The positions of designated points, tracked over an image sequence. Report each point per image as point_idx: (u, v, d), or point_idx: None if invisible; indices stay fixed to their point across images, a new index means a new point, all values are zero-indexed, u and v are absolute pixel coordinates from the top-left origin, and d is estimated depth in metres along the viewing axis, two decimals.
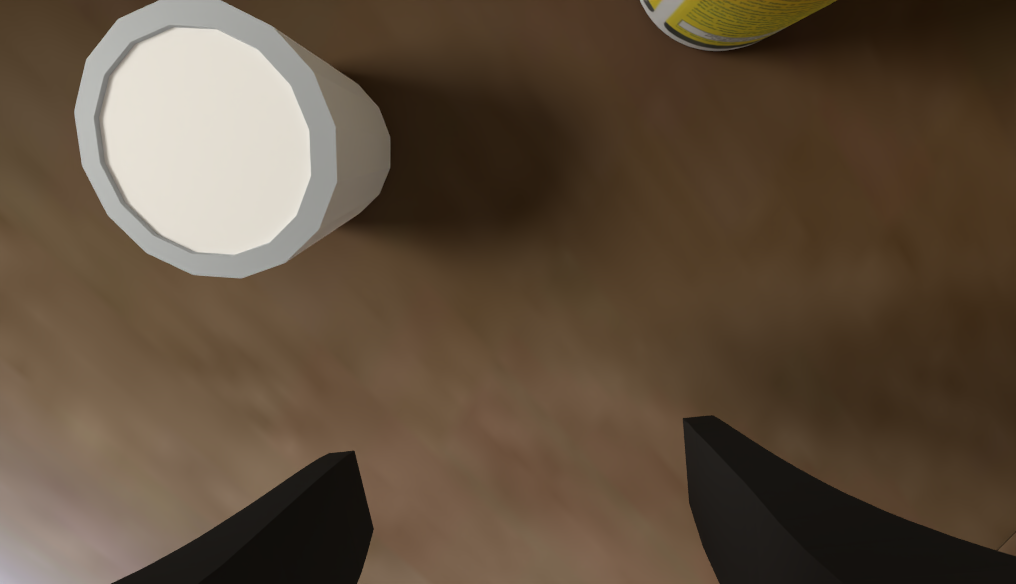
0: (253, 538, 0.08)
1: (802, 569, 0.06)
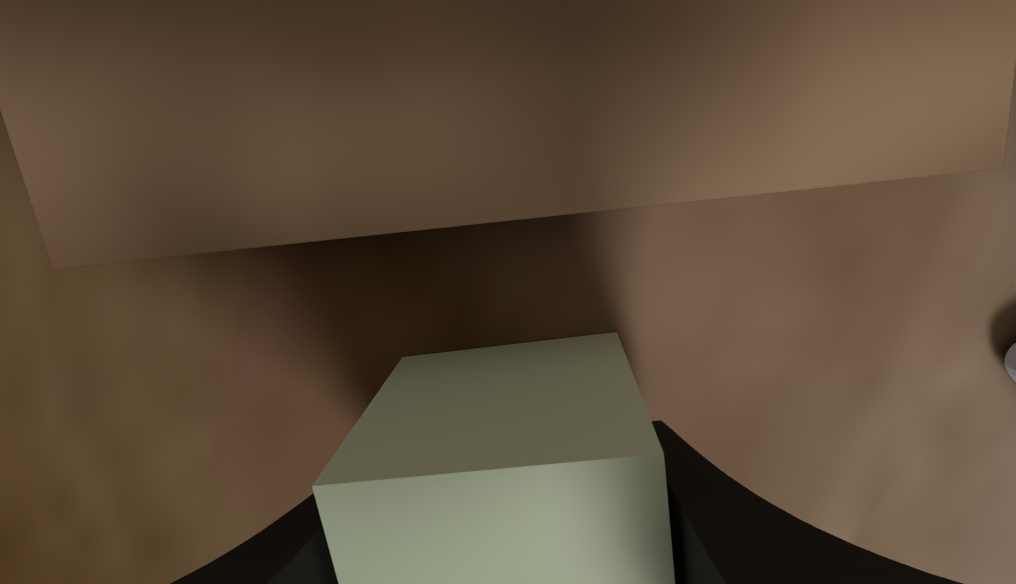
0: (316, 533, 0.08)
1: (708, 575, 0.06)
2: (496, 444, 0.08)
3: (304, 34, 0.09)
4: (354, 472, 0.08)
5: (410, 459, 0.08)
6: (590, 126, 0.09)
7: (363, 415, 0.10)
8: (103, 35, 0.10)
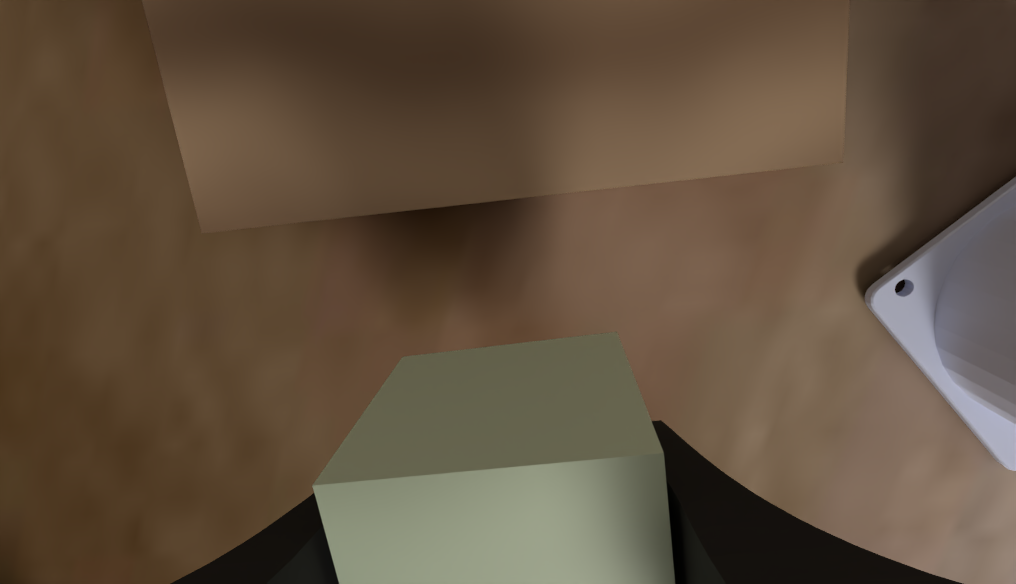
0: (317, 533, 0.08)
1: (708, 576, 0.06)
2: (496, 444, 0.08)
3: (384, 74, 0.14)
4: (354, 471, 0.08)
5: (410, 458, 0.08)
6: (573, 134, 0.14)
7: (363, 415, 0.10)
8: (248, 74, 0.14)
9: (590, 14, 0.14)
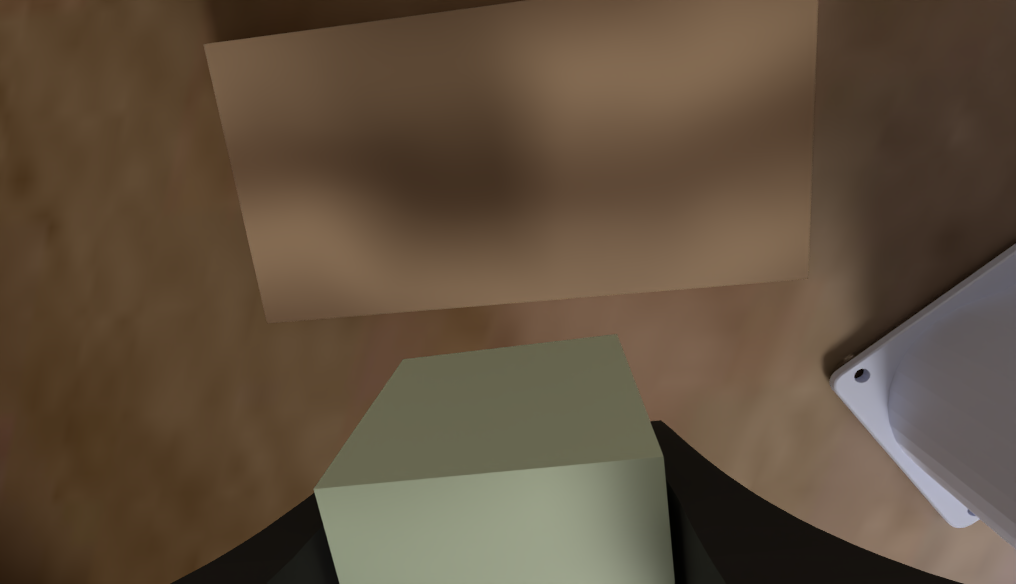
0: (317, 533, 0.08)
1: (709, 575, 0.06)
2: (497, 447, 0.08)
3: (425, 200, 0.17)
4: (355, 475, 0.08)
5: (411, 461, 0.08)
6: (583, 251, 0.17)
7: (364, 418, 0.10)
8: (311, 197, 0.17)
9: (599, 157, 0.16)
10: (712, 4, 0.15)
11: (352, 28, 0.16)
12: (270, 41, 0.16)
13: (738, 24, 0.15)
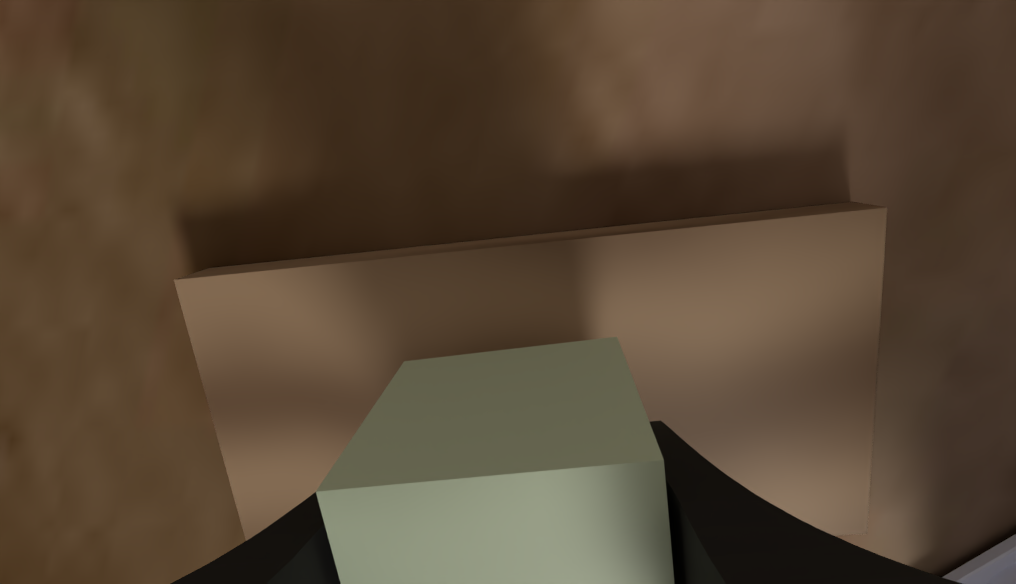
0: (317, 533, 0.08)
1: (708, 575, 0.06)
2: (498, 450, 0.08)
3: None
4: (357, 477, 0.08)
5: (412, 464, 0.08)
6: None
7: (366, 420, 0.10)
8: (300, 437, 0.15)
9: None
10: (760, 251, 0.13)
11: (343, 266, 0.14)
12: (250, 278, 0.14)
13: (790, 272, 0.13)
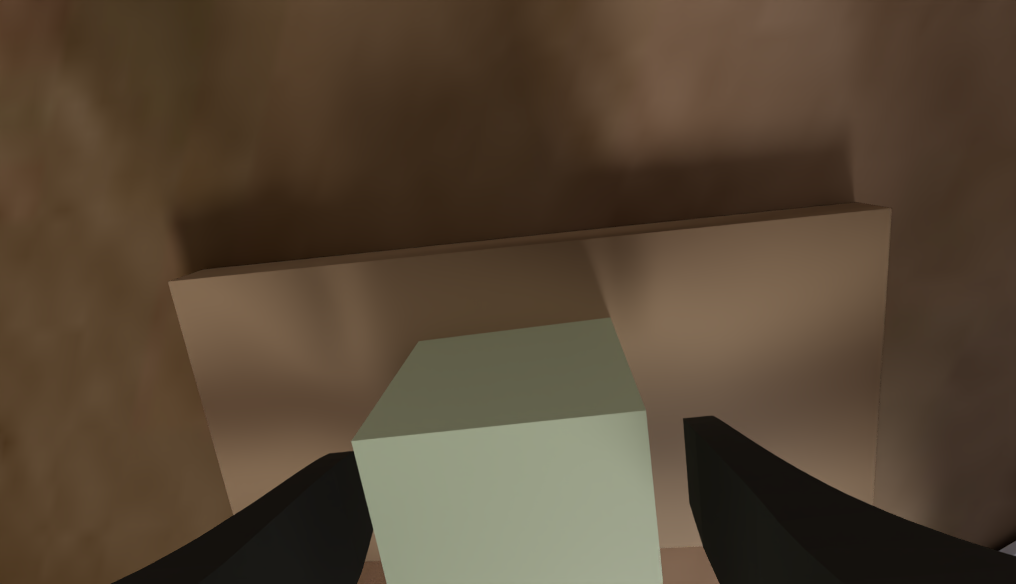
0: (253, 538, 0.08)
1: (802, 568, 0.06)
2: (506, 406, 0.10)
3: None
4: (386, 430, 0.09)
5: (433, 418, 0.09)
6: None
7: (388, 387, 0.11)
8: (296, 441, 0.15)
9: None
10: (763, 252, 0.13)
11: (340, 268, 0.14)
12: (245, 280, 0.14)
13: (793, 274, 0.13)
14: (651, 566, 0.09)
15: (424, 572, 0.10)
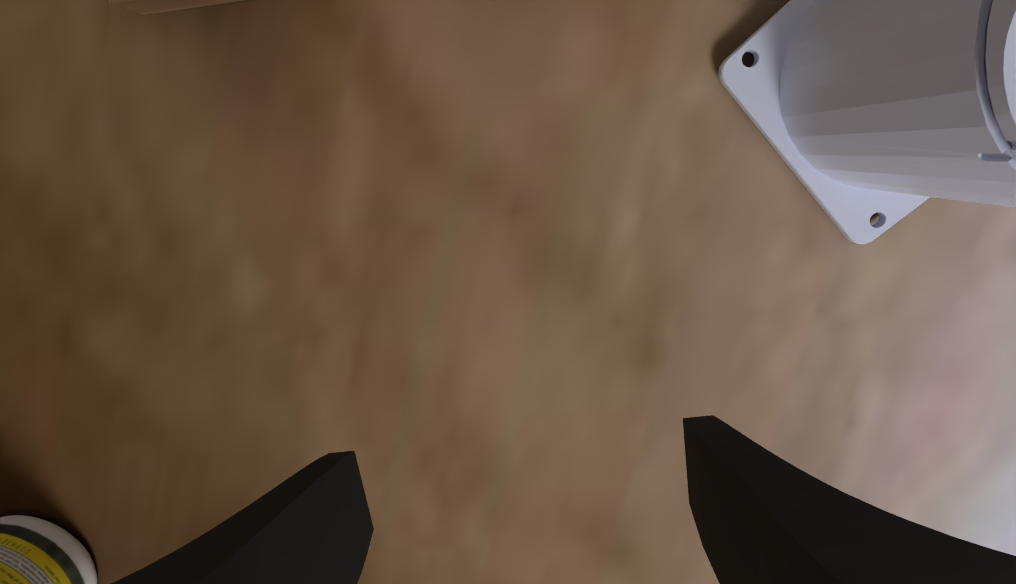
0: (253, 538, 0.08)
1: (802, 568, 0.06)
2: None
3: None
4: None
5: None
6: None
7: None
8: None
9: None
10: None
11: None
12: None
13: None
14: None
15: None
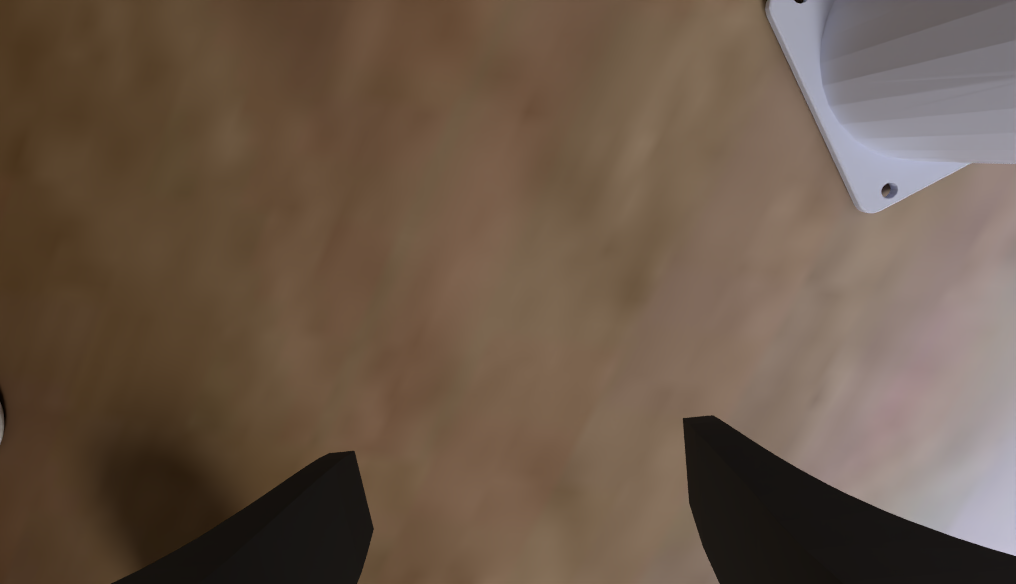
0: (253, 538, 0.08)
1: (802, 569, 0.06)
2: None
3: None
4: None
5: None
6: None
7: None
8: None
9: None
10: None
11: None
12: None
13: None
14: None
15: None
